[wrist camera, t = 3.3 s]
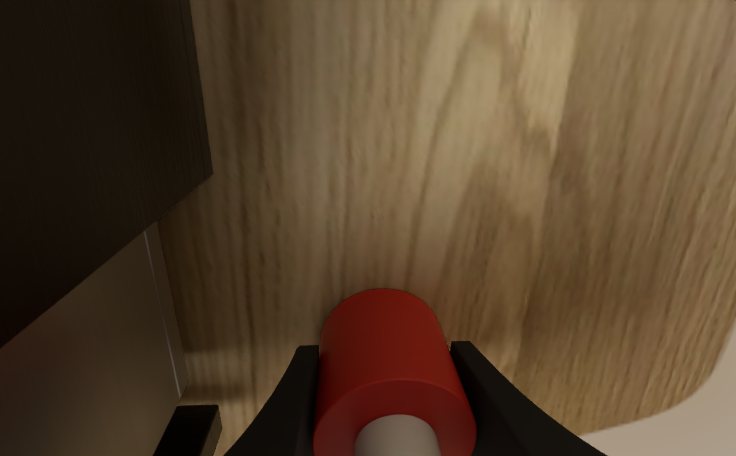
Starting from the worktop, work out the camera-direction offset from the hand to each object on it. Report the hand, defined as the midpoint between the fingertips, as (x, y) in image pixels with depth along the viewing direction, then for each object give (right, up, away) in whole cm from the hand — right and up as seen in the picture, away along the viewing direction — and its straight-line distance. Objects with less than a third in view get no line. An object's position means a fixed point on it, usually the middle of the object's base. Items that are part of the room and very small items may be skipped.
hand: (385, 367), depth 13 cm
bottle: (0, 0, +1) cm, 1 cm away
